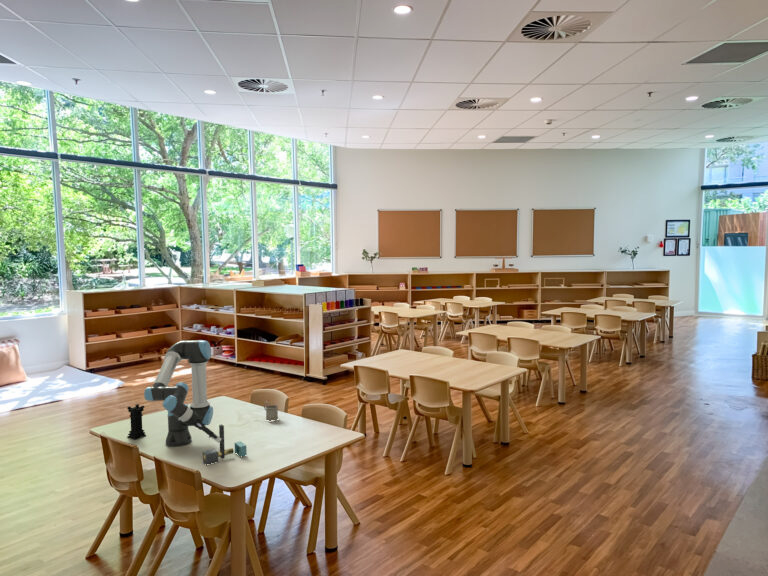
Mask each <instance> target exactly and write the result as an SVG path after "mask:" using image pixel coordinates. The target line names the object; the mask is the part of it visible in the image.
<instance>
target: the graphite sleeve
mask: <svg viewBox="0 0 768 576" xmlns="http://www.w3.org/2000/svg"><path fill="white" fill-rule="evenodd" d="M218 452H219V451H218V450H217V449H216V448H213V449H212V448H211V449H208V450H204V451H202V463H203V464H204V465H205V464H206V465H205V466H208V465H207V464H210V465H212V464H211V463H214V464H216V463H215V462H217V463H219V457H218ZM204 455H205V459H206V460H205V461H204V458H203V456H204Z"/></svg>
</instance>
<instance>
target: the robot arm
mask: <svg viewBox="0 0 768 576" xmlns="http://www.w3.org/2000/svg"><path fill="white" fill-rule="evenodd" d="M211 357H212V348H211V345H210V343H209V341H207V340H203V339H198V340H197V339H195V340H193V339H192V340H180V341H178V342H176V343H174V344H173V345H171V346H170V348H169V349H167V351H166V353H165V354H164V360H163V363H162V365H161V368H160V369H159V372H158V373H157V375H156V378H155V380H154V382H153V383H152V386H148V387H146V388H145V390H144V392H143V393H144V394H143V396H144V399H145V401H147V402H158V401H159V402H160V401H162V407H163V408H164V409H165V410H166V411H167V426H168V427H167V429H168V432H167V434H166V439H165V445H166V446H167V447H173V448H175V447H182V446H186V445H189V444H190V443H192V435H191V432H190V429H189V427H195V428H197V429H198V430H200V431H202V432H204V433H205V434H206V435H208V438H209V439H210V438H211V439H213V440H214V441H215V442H217V444H218V443H219V444H220V441H221V440H222V439H221V438H220V437H219V435H218V434H217V433H216V432H214V431H212V430H211V429H210V428H208V427H207V426H209V425H210V424H211V422H212V419H213V416H214V407H213V406H211V402H209V401H208V388H207V387H208V385H207V383H208V382H207V364H208V362H209V360H210V359H211ZM182 360H188V364H189V365H190V366H191V369H190V370H191V391H192V403H191V404H190V405H188V404H186V403H185V402H186V401H185V400H186V399H187V398H186V397H187V395H188V394H189V389H190V388H189V386H188V384H187V383H186V382H183V381H182V382H181V381H179V382H177V383H176V384H175V385H174V386H168V385H169V384H170V381H171V379H172V376H173V374H174V373H175V370H176V368H177V366H178V364H180V362H181V361H182Z"/></svg>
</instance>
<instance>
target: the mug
mask: <svg viewBox="0 0 768 576" xmlns="http://www.w3.org/2000/svg"><path fill="white" fill-rule="evenodd" d="M263 408H264V411H265V412H266V413H265V415H266V417H265V419H266V420H269V421H271V420H277V419H278V418H279V414H278V413H279V412H278V411H279V410H278V408H279V406H278V405H276V404H270V405H269V403H268V401H264V403H263Z"/></svg>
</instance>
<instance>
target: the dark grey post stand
mask: <svg viewBox="0 0 768 576" xmlns="http://www.w3.org/2000/svg"><path fill="white" fill-rule="evenodd" d="M218 429H219V430H218V434H219V435H218V436H219V437H220V438H221V439H222V440H221V441H220V442H219V451H218V458H221V459H222V460H223V459H225V456H228V455H232V454H235V449H234V448H233V447H231V448H227V449H225V425H223V424H219V425H218ZM203 458H204V461H205V460H206V459H205V455H204V456H203V455H202V459H203Z"/></svg>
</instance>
